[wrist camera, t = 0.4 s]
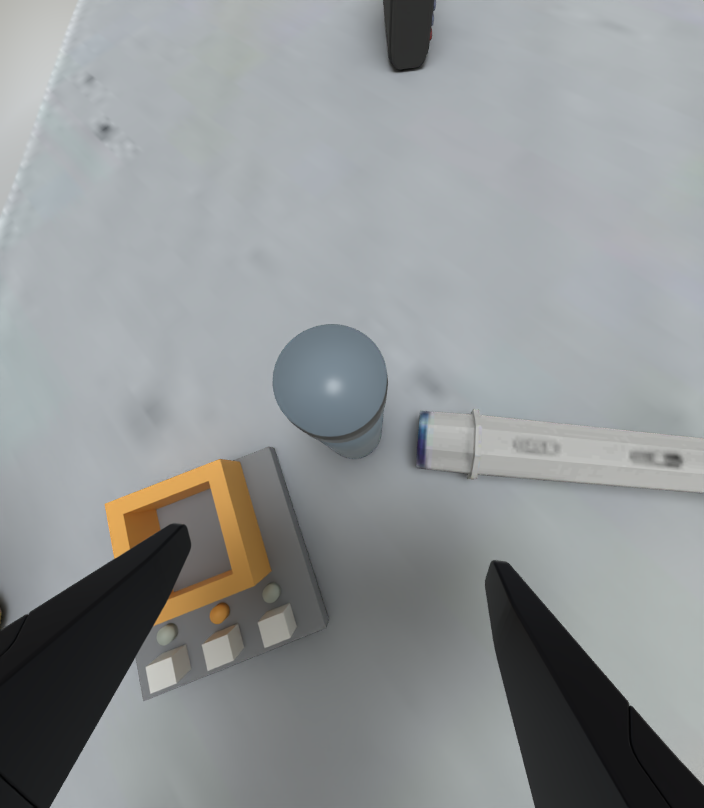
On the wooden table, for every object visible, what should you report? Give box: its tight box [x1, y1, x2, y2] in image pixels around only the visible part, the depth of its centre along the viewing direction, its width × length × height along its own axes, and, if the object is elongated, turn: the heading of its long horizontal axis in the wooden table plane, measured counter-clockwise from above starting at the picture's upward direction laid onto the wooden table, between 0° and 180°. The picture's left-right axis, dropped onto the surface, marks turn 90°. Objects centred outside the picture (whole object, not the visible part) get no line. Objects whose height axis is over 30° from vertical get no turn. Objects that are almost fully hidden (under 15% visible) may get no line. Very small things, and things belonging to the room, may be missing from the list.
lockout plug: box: [273, 324, 388, 459], centre depth 18 cm, size 4×4×13 cm
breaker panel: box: [105, 447, 329, 701], centre depth 20 cm, size 12×12×4 cm
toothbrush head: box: [416, 409, 704, 493], centre depth 20 cm, size 5×7×25 cm
